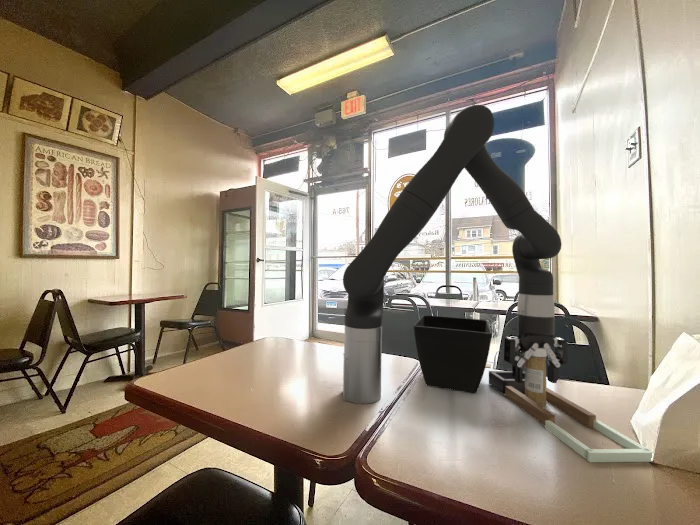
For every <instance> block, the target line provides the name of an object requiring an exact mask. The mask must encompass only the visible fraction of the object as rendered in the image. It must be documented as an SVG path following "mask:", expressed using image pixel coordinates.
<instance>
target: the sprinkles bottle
mask: <svg viewBox="0 0 700 525" xmlns="http://www.w3.org/2000/svg"><path fill="white" fill-rule="evenodd" d="M546 356H547V351H546V349H544V348H537V349H536V350H535V351H534V352H533V353H532V355H531V356H530V358H529V359H528V360H526V361H525V362H524V372H525V394H524V395H525V396H527V397H528V398H530V399H531V400H533V401H534V402H536V403H537V404H539V405H540V406H542V407H543V408H545V407H546V406H547V404H548V402H547V401H546V388H548V387H547V360H546Z"/></svg>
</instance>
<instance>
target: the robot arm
mask: <svg viewBox="0 0 700 525" xmlns="http://www.w3.org/2000/svg"><path fill="white" fill-rule="evenodd" d="M494 129H495V117H494V114H493V112H492V110H491V109H490V108H488V106H485V105H482V104H473V105H469V106H467V107H464V108H463V109H462V110H460V111H459V112H457V113H456V115H455V116H454V117H453V118H452V120H450V122H449V123H448V124H447V126H446V127H445V131H444V134H443V140H442V141H441V143H440V145H439V146H438V148H437V149H436V151H435V152H434V154H432V155H431V157H430V158H429V159H428V160H427V162H425V164H424V165H423V166H422V167H421V168H420V169H419V170H418V171H417V172H416V173H415V175H414V176H413V177H412V178H411V179H410V181H409V182H408V183H407V184H406V185H405V187H404V188H403V189H402V191H401V192H400V194H399V195H398V197H397V198H396V200H395V201H394V202H393V203H392V204H391V207H390V208H389V210H388V211H387V213H386V214H385V216H384V217H383V219H382V221H381V222H380V224H379V225H378V228H377V230H376V231H375V233H374V234H373V236H372V237H371V238H370V240H369V241H368V242H367V244H366V245H365V246H364V247H363V249H362V250H361V251H360V252H359V253H358V254H357V256H356V257H355V258H354V259H353V260H352V261H351V262H350V263H349V265H348V266H347V267H346V268H345V270H344V272H343V277H342V285H343V288H344V291H345V292H346V294H347V308H346V310H345V314H344V344H343V345H344V346H343V372H342V373H343V375H342V381H343V382H342V383H343V384H342V395H343V396H342V398H343V401H345V402H346V401H348V402H351V403H355V404H361V405H362V404H372V403H375V402H377V401H379V400H380V399H381V398H382V356H383V355H382V352H383V351H382V350H383V349H382V344H383V341H382V340H383V336H382V335H383V313H384V301H385V300H384V294H385V277H386V276H387V273H388V272H389V269H390V268H391V266H392V265H393V263H394V261H395V260H396V258H397V257H398V256H399V255H400V254H401V252H402V251H403V250H404V249H405V248H407V246H409V244H411V243H412V241H413V240H415V238H417V236H418V235H419V234H420V233H421V232H422V231H423V230H424V228H425V227H426V225H427V224H428V223H429V221H430V220H431V219H432V217H433V216H434V215H435V213H436V212H437V210H438V209H439V207H440V206H441V204H442V203H443V201H444V200H445V198H446V196H447V195H448V193H449V192H450V190H451V188H452V187H453V185H454V183H455V182H456V180H457V179H458V177H459V175H460V174H461V173H462V171H463V170H466V172H467V173H468V174H469V175H470V176H471V178H472V179H473V180H474V181H475V183H476V185H478V187H479V188H480V190H481V191H482V192H483V193H484V195H485V196H486V198H487V200H488V201H489V203H490V205H491V206H492V207H493V209H494V211H495V213H496V214H497V216H498V217H499V219H500V220H501V222H502V224H503V225H504V227H505V228H507V229H508V230H514V231H518V232H519V234H517V235H516V236H515V237H514V240H513V242H512V246H511V248H512V249H511V250H512V251H511V253H512V256H513V257H512V258H513V260H514V261H513V262H514V263H515V269H516V272H517V274H518V299H517V333H518V334H517V337H510V336H505V337H504V345H503V346H504V347H503V350H504V351H503V360H504V362H507V363H508V364H509V365H511V366H512V367H511V371H512V377H513V378H514V380H515V381H516V382H518V383H522V382H523V371H524V369H523V365H525V361H526V360H528V359H529V358H530V356H531V355H532V353H533V352H534V351H535V350H536V349H537V348H544V349H546V351H547V356H546V363H548V364H546V380H547V381H548V382H550V383H552V384H557V383H558V381H559V368H560V367H561V366H567V365H568V364H569V363H568V361H569V360H568V341H567V340H566V339H565V338H562V337H557V336H556V337H555V338H554V337H553V336H554V335H555V323H556V322H555V321H556V320H555V318H556V316H555V315H556V314H555V301H554V275H553V273H552V272H551V271H550V270H548V269H544V268H543V267H542V264H541V262H540V260H549V259H552V258H555V257H556V256H557V255H558V254H559V253H560V252H561V249H562V239H561V237H560V234H559V233H558V231H557V230H556V228H555V227H554V226H553V225H552V224H551V223H549V221H547V220H546V219H545V217H543V216H542V215H541V214H540V213H539V212H537V211H536V210H535V209H534V207H533V205H532V204H531V202H530V200H529V199H528V197H527V195H526V193H525V192H524V190H523V189H522V188H521V186H520V185H519V184H518V183H517V182H516V181H515V180H514V179H513V178H512V177H511V176H510V175H508V174H507V172H505V171H504V170H502V169H501V168H500V166H498V164H497V163H496V162H495V161H494V160H493V158H492V157H491V155H490V154H489V152H488V150H487V148H486V146H485V144H487V143H488V141H489V140H490V139H491V138H492V135H493V132H494ZM518 346H519V347H518ZM517 347H518V348H517ZM553 347H554V351H553V350H552V348H553ZM516 348H517V349H516Z"/></svg>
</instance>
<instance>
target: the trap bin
mask: <svg viewBox="0 0 700 525" xmlns="http://www.w3.org/2000/svg"><path fill="white" fill-rule="evenodd" d="M488 385H490V386H491V387H492V388H494V389H495V391H498V392H499V393H500V394H501V395H505V386H512V387H513V388H515V389H516V390H518V391H519V392H521V393H522V394H524V395H525V370H523V382H522V383H518V382H516V381H515V380H514V378H513V377H512V370H488Z"/></svg>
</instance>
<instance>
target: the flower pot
mask: <svg viewBox="0 0 700 525" xmlns="http://www.w3.org/2000/svg"><path fill="white" fill-rule="evenodd" d="M413 332H414V333H413V334H414V339H415V341H414V342H415V347H416V352H417V358H418V361H419V366H420V370H421V373H422V377H423V380H424V383H425V385H426V386H428V387H432V388H433V387H434V388H436V389H437V388H438V389H444V390H450V391H456V392H463V393H469V394H476V393H477V392H478V389H479V388H480V385H481V382H482V379H483V377H484V373H485V370H486V366H487V362H488V359H489V358H488V357H489V354H490V348H491V344H492V343H491V342H492V337H493V336H492V335H493V332H492V330H491V327H490V324H489V321H488V320H487V319H480V318H479V319H478V318H477V319H476V318H467V317H466V318H465V317H453V316H442V315H440V316H439V315H425V314H424V315H422V316H421V317H420V318H419V319H418V320H417V322H415V323H414V324H413Z"/></svg>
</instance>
